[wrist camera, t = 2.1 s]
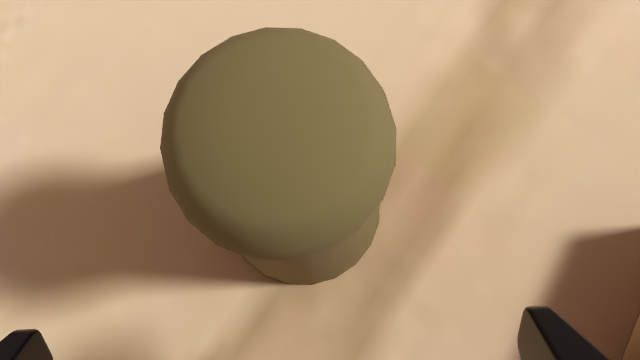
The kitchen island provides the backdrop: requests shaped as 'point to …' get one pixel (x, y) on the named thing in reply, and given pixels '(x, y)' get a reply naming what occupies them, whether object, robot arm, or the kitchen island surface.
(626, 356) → the cream square block
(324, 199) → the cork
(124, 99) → the kitchen island surface
